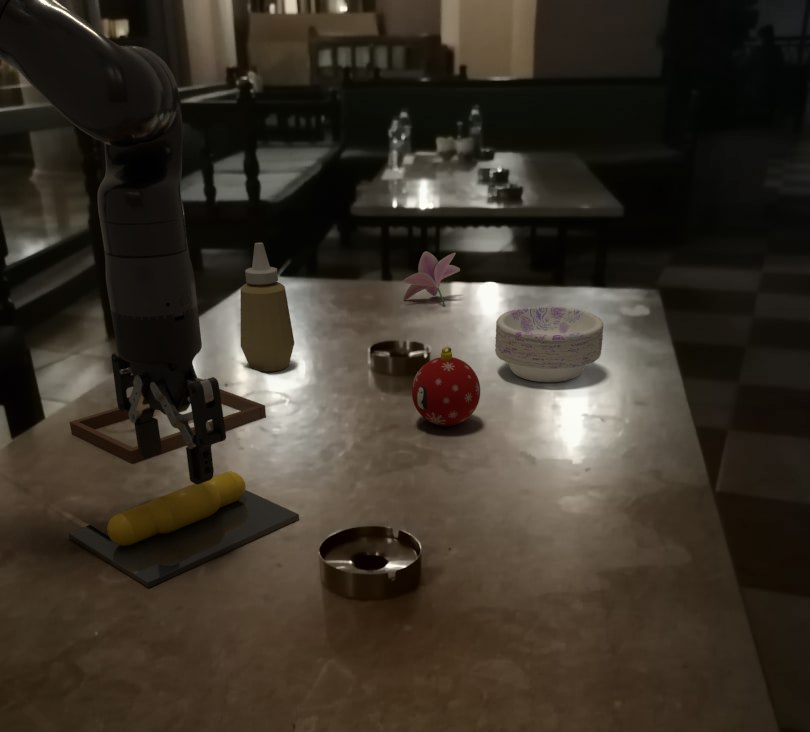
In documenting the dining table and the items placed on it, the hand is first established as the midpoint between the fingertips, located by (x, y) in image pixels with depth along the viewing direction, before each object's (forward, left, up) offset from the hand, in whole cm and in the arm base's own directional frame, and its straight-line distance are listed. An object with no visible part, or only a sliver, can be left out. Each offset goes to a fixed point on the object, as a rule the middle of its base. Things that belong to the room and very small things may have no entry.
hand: (176, 468), depth 88 cm
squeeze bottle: (+39, +34, -7) cm, 52 cm away
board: (0, 0, -7) cm, 7 cm away
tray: (+14, +23, -7) cm, 28 cm away
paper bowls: (+64, +1, -7) cm, 64 cm away
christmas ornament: (+39, -1, -7) cm, 40 cm away
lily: (+84, +41, -7) cm, 94 cm away
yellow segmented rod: (0, -1, -6) cm, 6 cm away
